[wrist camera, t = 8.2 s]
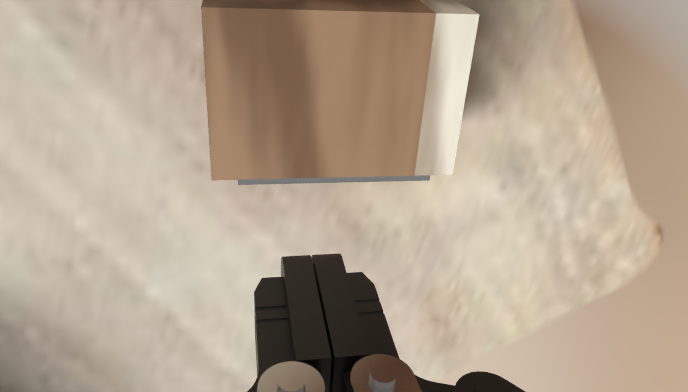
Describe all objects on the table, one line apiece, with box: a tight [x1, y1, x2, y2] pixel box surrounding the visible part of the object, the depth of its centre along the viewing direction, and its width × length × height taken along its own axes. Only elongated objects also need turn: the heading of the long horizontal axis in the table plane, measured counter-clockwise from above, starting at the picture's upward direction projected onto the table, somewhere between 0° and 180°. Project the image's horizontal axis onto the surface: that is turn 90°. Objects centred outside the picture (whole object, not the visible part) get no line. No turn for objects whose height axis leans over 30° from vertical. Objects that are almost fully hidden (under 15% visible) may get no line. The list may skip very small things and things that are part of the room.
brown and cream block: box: [201, 0, 480, 180], centre depth 29 cm, size 5×8×12 cm
